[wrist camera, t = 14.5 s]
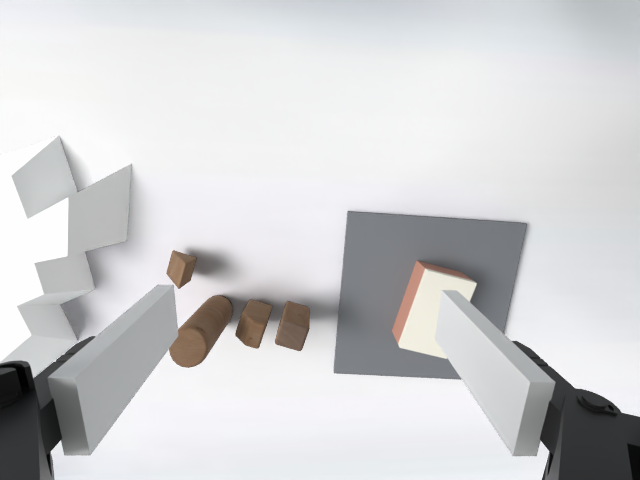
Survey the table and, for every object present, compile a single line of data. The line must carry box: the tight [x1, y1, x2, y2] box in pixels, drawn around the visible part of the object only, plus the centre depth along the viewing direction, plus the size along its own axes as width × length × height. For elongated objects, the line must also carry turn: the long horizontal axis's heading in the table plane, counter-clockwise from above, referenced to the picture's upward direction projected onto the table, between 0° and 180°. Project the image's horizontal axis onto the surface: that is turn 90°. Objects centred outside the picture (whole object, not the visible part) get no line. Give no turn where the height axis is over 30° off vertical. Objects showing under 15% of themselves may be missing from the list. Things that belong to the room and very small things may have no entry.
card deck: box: [392, 260, 477, 359], centre depth 39 cm, size 6×10×4 cm, turn 165°
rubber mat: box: [334, 211, 527, 379], centre depth 41 cm, size 22×22×1 cm
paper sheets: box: [0, 136, 132, 378], centre depth 38 cm, size 35×20×6 cm, turn 149°
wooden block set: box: [167, 251, 310, 368], centre depth 36 cm, size 18×9×10 cm, turn 72°
